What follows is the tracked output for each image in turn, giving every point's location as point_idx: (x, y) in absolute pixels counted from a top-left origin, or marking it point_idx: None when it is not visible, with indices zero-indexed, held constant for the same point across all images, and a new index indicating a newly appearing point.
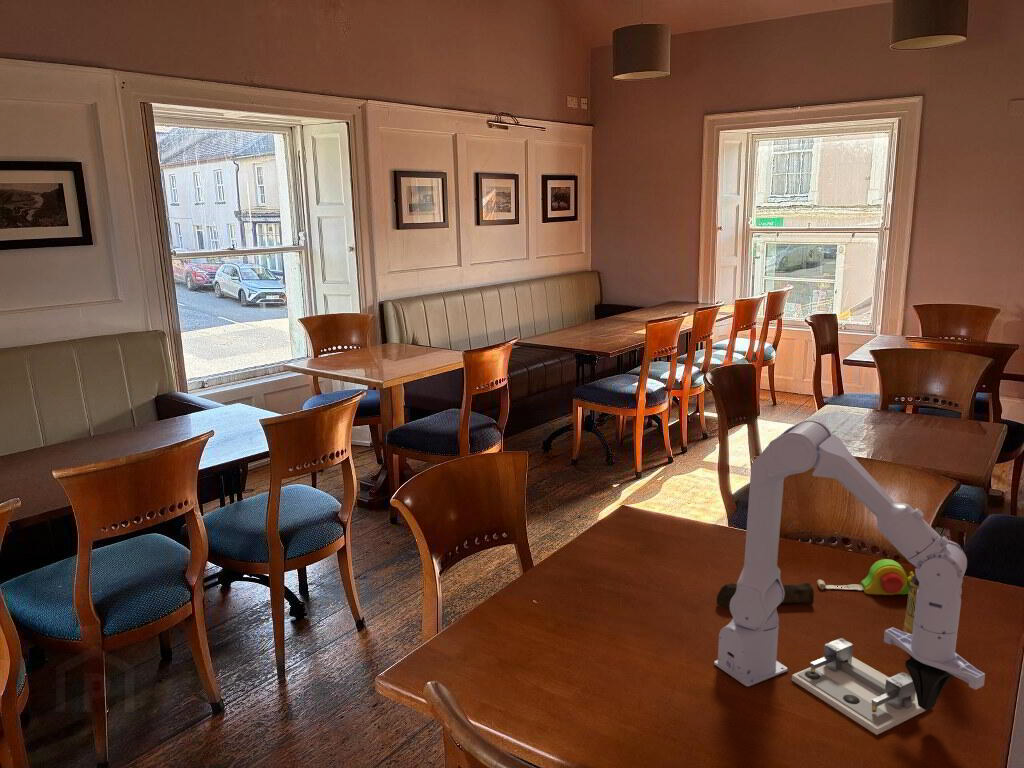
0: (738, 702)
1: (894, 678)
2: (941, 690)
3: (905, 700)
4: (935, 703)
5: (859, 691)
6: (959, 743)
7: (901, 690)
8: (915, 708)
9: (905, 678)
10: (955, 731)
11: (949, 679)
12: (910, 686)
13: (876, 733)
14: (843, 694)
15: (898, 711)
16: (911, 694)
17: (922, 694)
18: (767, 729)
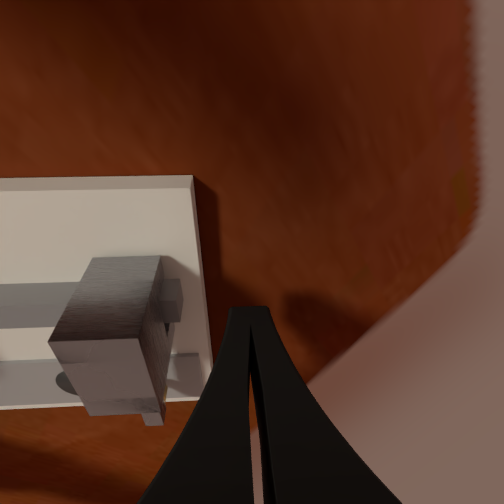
0: (18, 476)
1: (96, 396)
2: (296, 369)
3: (166, 318)
4: (270, 315)
5: (41, 342)
6: (366, 263)
7: (162, 386)
8: (193, 275)
9: (110, 367)
10: (330, 225)
11: (348, 443)
12: (151, 348)
13: None
14: (51, 384)
15: (180, 324)
16: (157, 301)
17: (248, 401)
18: (112, 476)
